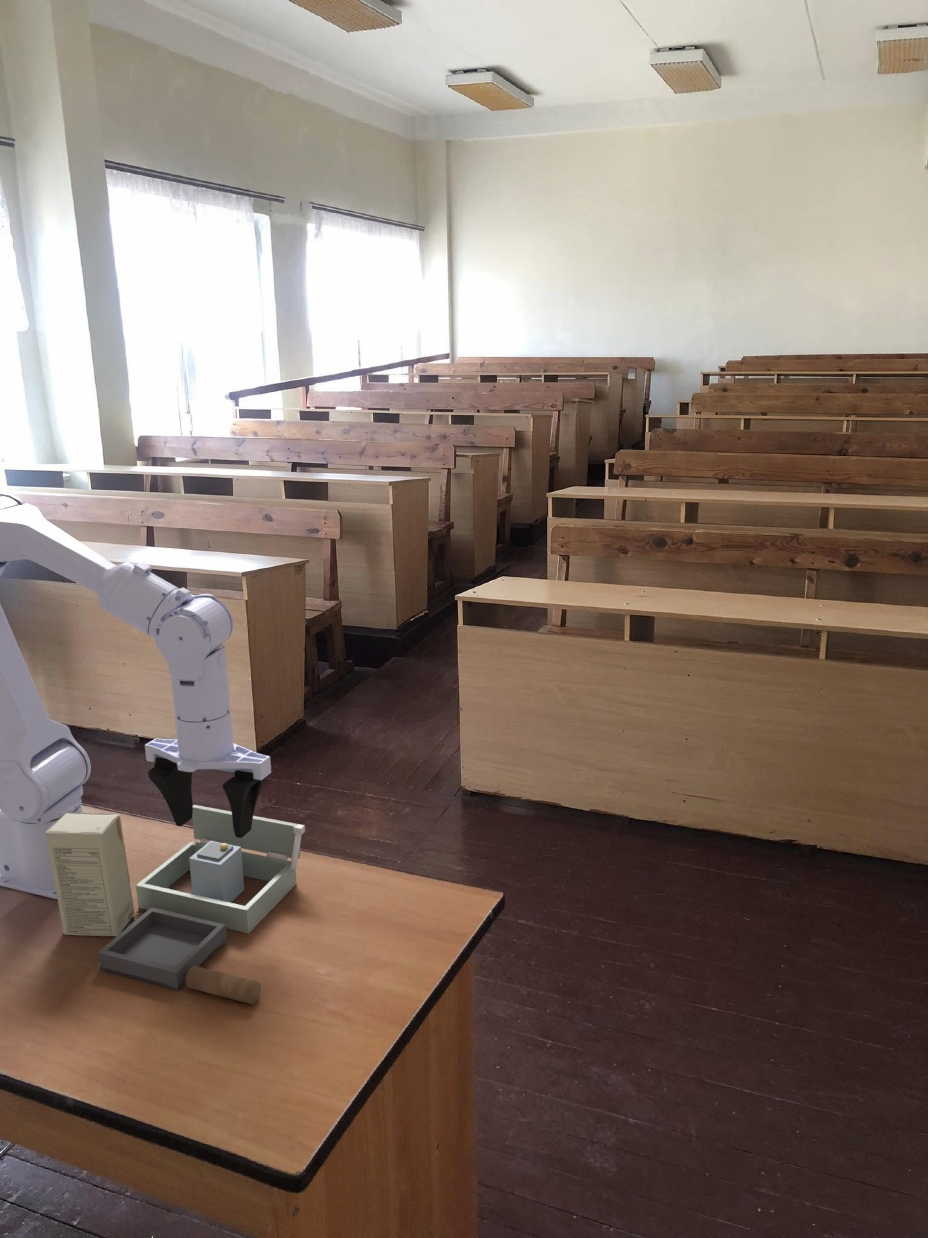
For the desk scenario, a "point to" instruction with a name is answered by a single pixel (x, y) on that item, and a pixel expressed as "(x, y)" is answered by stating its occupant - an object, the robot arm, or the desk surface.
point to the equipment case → (274, 867)
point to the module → (217, 871)
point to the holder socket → (162, 947)
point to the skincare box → (91, 874)
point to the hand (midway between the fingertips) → (213, 827)
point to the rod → (223, 985)
